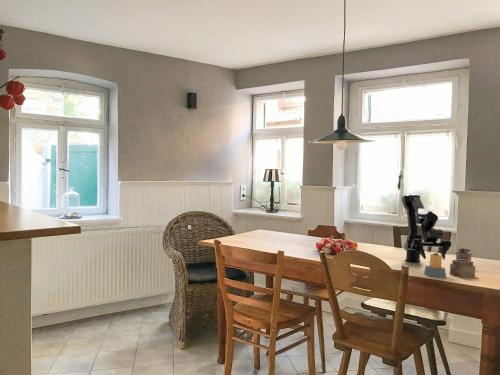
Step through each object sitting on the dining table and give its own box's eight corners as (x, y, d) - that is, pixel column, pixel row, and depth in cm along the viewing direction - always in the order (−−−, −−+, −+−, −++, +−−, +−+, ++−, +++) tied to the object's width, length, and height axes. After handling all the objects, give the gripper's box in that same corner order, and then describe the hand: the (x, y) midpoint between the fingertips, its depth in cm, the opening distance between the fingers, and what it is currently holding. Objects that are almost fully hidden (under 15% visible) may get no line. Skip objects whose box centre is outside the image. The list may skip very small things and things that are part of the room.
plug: (429, 270, 218) (430, 252, 218) (437, 270, 218) (438, 252, 218) (432, 271, 214) (433, 254, 214) (441, 272, 214) (441, 254, 214)
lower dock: (424, 273, 220) (424, 265, 220) (439, 273, 220) (440, 265, 220) (429, 276, 213) (430, 268, 213) (445, 277, 213) (446, 269, 212)
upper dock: (449, 273, 221) (450, 259, 221) (461, 272, 225) (461, 258, 224) (463, 277, 214) (463, 262, 214) (474, 276, 217) (475, 262, 217)
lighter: (454, 265, 242) (455, 247, 242) (456, 264, 244) (457, 246, 244) (469, 268, 236) (470, 249, 236) (472, 267, 239) (473, 248, 238)
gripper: (413, 223, 222) (420, 248, 212) (451, 224, 222) (459, 250, 211) (407, 236, 231) (413, 261, 220) (444, 237, 230) (451, 262, 219)
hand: (434, 258), depth 217 cm, fingers open, 9 cm apart
